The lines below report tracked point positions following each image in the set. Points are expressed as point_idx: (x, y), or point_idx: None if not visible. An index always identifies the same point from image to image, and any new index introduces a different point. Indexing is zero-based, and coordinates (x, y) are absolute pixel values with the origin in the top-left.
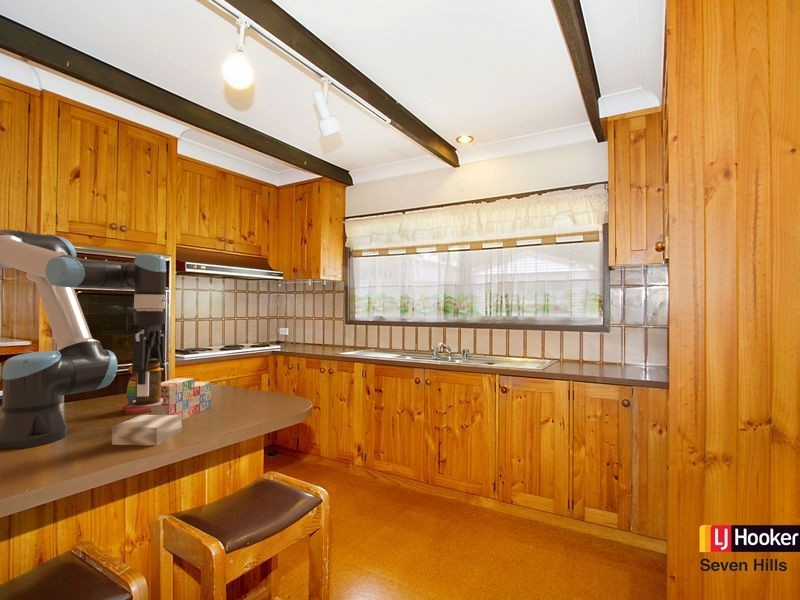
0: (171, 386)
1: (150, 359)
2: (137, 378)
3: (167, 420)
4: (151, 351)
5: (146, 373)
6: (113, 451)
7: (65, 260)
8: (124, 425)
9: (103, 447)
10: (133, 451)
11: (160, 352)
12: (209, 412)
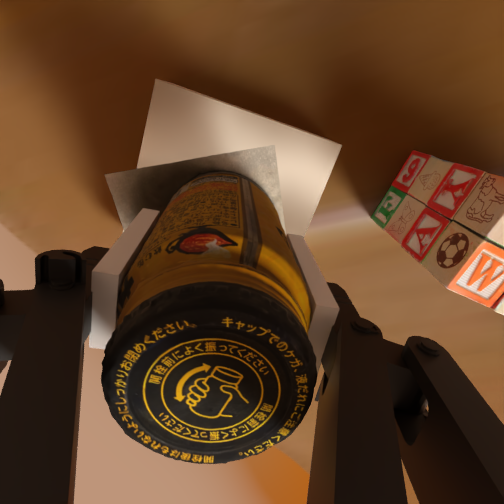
0: (454, 291)
1: (232, 398)
2: (108, 251)
3: None
4: (328, 467)
5: (94, 331)
6: (87, 116)
7: None
8: (167, 128)
9: (137, 62)
10: (80, 182)
11: (429, 487)
12: (485, 314)
